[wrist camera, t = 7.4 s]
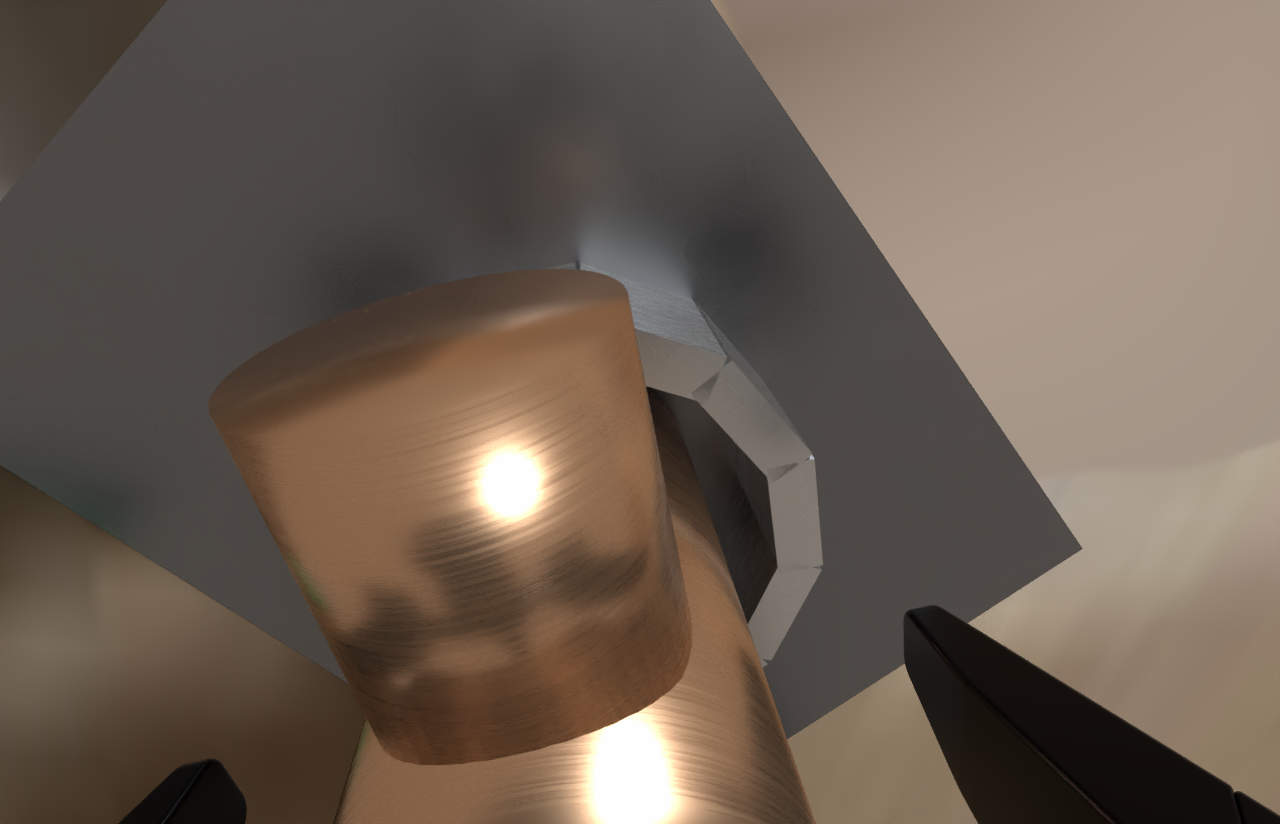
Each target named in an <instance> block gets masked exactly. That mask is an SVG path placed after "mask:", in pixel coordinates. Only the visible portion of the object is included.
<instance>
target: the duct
mask: <svg viewBox="0 0 1280 824" xmlns="http://www.w3.org/2000/svg"><path fill="white" fill-rule="evenodd" d="M532 269H577V270H586V271H592V272H598V273H601V274H605V275H608V276H610V277H612V278H614V279H616V280H618V281H619V282H620V283H622V284H623V285H624V286H625V288H626V290H627V292H628V296H629V301H630V306H631V311H632V317H633V322H634V327H635V332H636V337H637V342H638V347H639V353H640V358H641V363H642V368H643V373H644V378H645V383H646V389H648V390H649V391H651V392H652V393H653V394H654V395H655V396H656V397H657V398H658V399H659V400H660V401H661V402H662V403H663V404H664V405H665V406H666V408H667V409H668V410H669V411H670V412H671V414H672V416H673V417H674V419H675V421H676V422H677V424H678V426H679V428H680V430H681V433H682V435H683V438H684V440H685V443H686V446H687V449H688V452H689V455H690V458H691V461H692V464H693V467H694V469H695V472H696V475H697V478H698V481H699V484H700V487H701V490H702V493H703V496H704V499H705V502H706V504H707V507H708V510H709V513H710V516H711V519H712V522H713V525H714V528H715V531H716V534H717V537H718V539H719V542H720V545H721V548H722V551H723V554H724V557H725V560H726V563H727V566H728V569H729V572H730V575H731V577H732V580H733V583H734V586H735V589H736V592H737V595H738V598H739V601H740V604H741V607H742V610H743V612H744V615H745V618H746V621H747V624H748V627H749V630H750V633H751V636H752V639H753V642H754V645H755V647H756V650H757V653H758V656H759V659H760V662H761V665H762V668H763V671H764V674H765V677H766V680H767V682H768V685H769V688H770V691H771V694H772V697H773V700H774V703H775V706H776V709H777V712H778V715H779V717H780V720H781V723H782V726H783V729H784V732H785V735H786V738H787V739H788V738H790V737H791V736H793V735H795V734H796V733H798V732H799V731H801V730H802V729H804V728H805V727H807V726H808V725H810V724H812V723H813V722H815V721H816V720H818V719H819V718H821V717H822V716H824V715H826V714H827V713H829V712H830V711H832V710H833V709H835V708H836V707H838V706H839V705H841V704H843V703H844V702H846V701H847V700H849V699H850V698H852V697H853V696H855V695H857V694H858V693H860V692H861V691H863V690H864V689H866V688H867V687H869V686H870V685H872V684H874V683H875V682H877V681H878V680H880V679H881V678H883V677H884V676H886V675H888V674H889V673H891V672H892V671H894V670H895V669H897V668H898V667H900V666H901V665H903V664H905V661H904V631H903V619H904V615H905V613H906V611H908V610H910V609H915V608H920V607H925V606H929V605H936V606H939V607H941V608H943V609H945V610H946V611H948V612H950V613H951V614H953V615H955V616H956V617H958V618H959V619H961V620H963V621H964V622H966V623H968V622H970V621H971V620H973V619H974V618H976V617H977V616H979V615H981V614H982V613H984V612H985V611H987V610H988V609H990V608H991V607H993V606H994V605H996V604H998V603H999V602H1001V601H1002V600H1004V599H1005V598H1007V597H1008V596H1010V595H1012V594H1013V593H1015V592H1016V591H1018V590H1019V589H1021V588H1022V587H1024V586H1025V585H1027V584H1029V583H1030V582H1032V581H1033V580H1035V579H1036V578H1038V577H1039V576H1041V575H1043V574H1044V573H1046V572H1047V571H1049V570H1050V569H1052V568H1053V567H1055V566H1056V565H1058V564H1060V563H1061V562H1063V561H1064V560H1066V559H1067V558H1069V557H1070V556H1072V555H1074V554H1075V553H1077V552H1078V551H1080V550H1081V549H1082V547H1081V546H1080V544H1079V543H1078V541H1077V540H1076V538H1075V537H1074V535H1073V534H1072V533H1071V531H1070V530H1069V528H1068V527H1067V525H1066V524H1065V522H1064V521H1063V519H1062V518H1061V516H1060V515H1059V513H1058V512H1057V510H1056V509H1055V507H1054V506H1053V505H1052V503H1051V502H1050V500H1049V499H1048V497H1047V496H1046V494H1045V493H1044V491H1043V490H1042V488H1041V487H1040V485H1039V484H1038V482H1037V481H1036V480H1035V478H1034V477H1033V475H1032V474H1031V472H1030V471H1029V469H1028V468H1027V467H1026V465H1025V463H1024V462H1023V461H1022V459H1021V457H1020V456H1019V455H1018V453H1017V452H1016V450H1015V449H1014V447H1013V446H1012V444H1011V443H1010V441H1009V440H1008V439H1007V437H1006V435H1005V434H1004V432H1003V431H1002V430H1001V428H1000V426H999V425H998V424H997V422H996V421H995V419H994V418H993V416H992V415H991V413H990V412H989V411H988V409H987V407H986V406H985V405H984V403H983V402H982V400H981V399H980V397H979V396H978V394H977V393H976V391H975V390H974V388H973V387H972V385H971V384H970V383H969V381H968V379H967V378H966V377H965V375H964V373H963V372H962V371H961V369H960V368H959V366H958V365H957V363H956V362H955V360H954V359H953V357H952V356H951V354H950V353H949V351H948V350H947V348H946V347H945V346H944V344H943V343H942V341H941V340H940V338H939V337H938V335H937V334H936V332H935V331H934V329H933V328H932V326H931V325H930V323H929V322H928V320H927V319H926V318H925V316H924V315H923V313H922V312H921V310H920V309H919V307H918V306H917V304H916V303H915V301H914V300H913V298H912V297H911V295H910V294H909V293H908V291H907V290H906V288H905V287H904V285H903V284H902V282H901V281H900V279H899V278H898V276H897V275H896V273H895V272H894V270H893V269H892V268H891V266H890V265H889V263H888V262H887V260H886V259H885V257H884V256H883V254H882V253H881V251H880V250H879V248H878V247H877V245H876V244H875V242H874V241H873V239H872V238H871V237H870V235H869V234H868V232H867V231H866V229H865V228H864V226H863V225H862V223H861V222H860V221H859V219H858V217H857V216H856V215H855V213H854V211H853V210H852V209H851V207H850V206H849V204H848V203H847V201H846V200H845V198H844V197H843V195H842V194H841V192H840V191H839V189H838V188H837V187H836V185H835V184H834V182H833V181H832V179H831V178H830V176H829V175H828V173H827V172H826V170H825V169H824V167H823V166H822V164H821V163H820V161H819V160H818V159H817V157H816V156H815V154H814V153H813V151H812V150H811V148H810V147H809V145H808V144H807V142H806V141H805V139H804V138H803V136H802V135H801V133H800V132H799V131H798V129H797V128H796V126H795V125H794V123H793V122H792V120H791V119H790V117H789V116H788V114H787V113H786V111H785V110H784V109H783V107H782V105H781V104H780V103H779V101H778V100H777V98H776V97H775V95H774V94H773V92H772V91H771V89H770V88H769V86H768V85H767V83H766V82H765V80H764V79H763V77H762V76H761V75H760V73H759V72H758V70H757V69H756V67H755V66H754V64H753V63H752V61H751V60H750V58H749V57H748V55H747V54H746V52H745V51H744V49H743V48H742V47H741V45H740V44H739V42H738V41H737V39H736V38H735V36H734V35H733V33H732V32H731V30H730V29H729V27H728V26H727V24H726V23H725V22H724V20H723V19H722V17H721V16H720V14H719V13H718V11H717V10H716V8H715V7H714V5H713V4H712V2H711V1H710V0H168V1H167V2H166V3H165V4H164V5H163V7H162V8H161V9H160V10H159V11H158V13H157V14H156V15H155V16H154V17H153V19H152V20H151V21H150V22H149V23H148V25H147V26H146V27H145V28H144V29H143V31H142V32H141V33H140V34H139V35H138V37H137V38H136V39H135V40H134V41H133V43H132V44H131V45H130V46H129V47H128V49H127V50H126V51H125V52H124V54H123V55H122V56H121V57H120V58H119V60H118V61H117V62H116V63H115V64H114V66H113V67H112V68H111V69H110V70H109V72H108V73H107V74H106V75H105V76H104V78H103V79H102V80H101V81H100V82H99V84H98V85H97V86H96V87H95V88H94V90H93V91H92V92H91V93H90V94H89V96H88V97H87V98H86V99H85V100H84V102H83V103H82V104H81V105H80V106H79V108H78V109H77V110H76V111H75V112H74V114H73V115H72V116H71V117H70V118H69V120H68V121H67V122H66V123H65V124H64V126H63V127H62V128H61V129H60V130H59V132H58V133H57V134H56V135H55V136H54V138H53V139H52V140H51V141H50V143H49V144H48V145H47V146H46V147H45V149H44V150H43V151H42V152H41V153H40V155H39V156H38V157H37V158H36V159H35V161H34V162H33V163H32V164H31V165H30V167H29V168H28V169H27V170H26V171H25V173H24V174H23V175H22V176H21V177H20V179H19V180H18V181H17V182H16V183H15V185H14V186H13V187H12V188H11V189H10V191H9V192H8V193H7V194H6V195H5V197H4V198H3V199H2V200H1V201H0V465H1V466H3V467H4V468H6V469H7V470H9V471H11V472H12V473H14V474H15V475H17V476H19V477H20V478H22V479H23V480H25V481H27V482H28V483H30V484H31V485H33V486H34V487H36V488H38V489H39V490H41V491H42V492H44V493H46V494H47V495H49V496H50V497H52V498H54V499H55V500H57V501H58V502H60V503H62V504H63V505H65V506H66V507H68V508H69V509H71V510H73V511H74V512H76V513H77V514H79V515H81V516H82V517H84V518H85V519H87V520H89V521H90V522H92V523H93V524H95V525H97V526H98V527H100V528H101V529H103V530H104V531H106V532H108V533H109V534H111V535H112V536H114V537H116V538H117V539H119V540H120V541H122V542H124V543H125V544H127V545H128V546H130V547H131V548H133V549H135V550H136V551H138V552H139V553H141V554H143V555H144V556H146V557H147V558H149V559H151V560H152V561H154V562H155V563H157V564H159V565H160V566H162V567H163V568H165V569H166V570H168V571H170V572H171V573H173V574H174V575H176V576H178V577H179V578H181V579H182V580H184V581H186V582H187V583H189V584H190V585H192V586H194V587H195V588H197V589H198V590H200V591H201V592H203V593H205V594H206V595H208V596H209V597H211V598H213V599H214V600H216V601H217V602H219V603H221V604H222V605H224V606H225V607H227V608H228V609H230V610H232V611H233V612H235V613H236V614H238V615H240V616H241V617H243V618H244V619H246V620H248V621H249V622H251V623H252V624H254V625H256V626H257V627H259V628H260V629H262V630H263V631H265V632H267V633H268V634H270V635H271V636H273V637H275V638H276V639H278V640H279V641H281V642H283V643H284V644H286V645H287V646H289V647H291V648H292V649H294V650H295V651H297V652H298V653H300V654H302V655H303V656H305V657H306V658H308V659H310V660H311V661H313V662H314V663H316V664H318V665H319V666H321V667H322V668H324V669H325V670H327V671H329V672H330V673H332V674H333V675H335V676H337V677H338V678H340V679H341V680H343V681H345V682H346V683H348V682H347V680H346V678H345V676H344V674H343V672H342V670H341V668H340V666H339V664H338V662H337V661H336V659H335V657H334V655H333V653H332V651H331V649H330V647H329V645H328V643H327V641H326V639H325V637H324V635H323V633H322V631H321V630H320V628H319V626H318V624H317V622H316V620H315V618H314V616H313V614H312V612H311V610H310V608H309V606H308V604H307V602H306V600H305V599H304V597H303V595H302V593H301V591H300V589H299V587H298V585H297V583H296V581H295V579H294V577H293V575H292V573H291V571H290V569H289V568H288V566H287V564H286V562H285V560H284V558H283V556H282V554H281V552H280V550H279V548H278V546H277V544H276V542H275V540H274V538H273V537H272V535H271V533H270V531H269V529H268V527H267V525H266V523H265V521H264V519H263V517H262V515H261V513H260V511H259V509H258V507H257V506H256V504H255V502H254V500H253V498H252V496H251V494H250V492H249V490H248V488H247V486H246V484H245V482H244V480H243V478H242V476H241V475H240V473H239V471H238V469H237V467H236V465H235V463H234V461H233V459H232V457H231V455H230V453H229V451H228V449H227V447H226V445H225V444H224V442H223V440H222V438H221V436H220V434H219V432H218V430H217V428H216V426H215V424H214V422H213V420H212V418H211V416H210V414H209V409H208V403H209V400H210V397H211V395H212V393H213V392H214V390H215V389H216V388H217V386H218V385H219V384H220V383H221V382H222V381H223V380H224V379H225V378H226V377H227V376H228V375H229V374H230V373H231V372H232V371H234V370H235V369H236V368H237V367H239V366H240V365H241V364H243V363H244V362H246V361H247V360H249V359H250V358H252V357H253V356H255V355H256V354H258V353H259V352H261V351H263V350H265V349H266V348H268V347H270V346H271V345H273V344H275V343H277V342H279V341H281V340H283V339H285V338H287V337H289V336H291V335H293V334H295V333H297V332H299V331H301V330H303V329H306V328H308V327H310V326H312V325H315V324H317V323H319V322H322V321H324V320H326V319H329V318H331V317H334V316H337V315H339V314H342V313H344V312H347V311H350V310H353V309H355V308H358V307H361V306H364V305H367V304H370V303H373V302H376V301H379V300H382V299H386V298H389V297H392V296H395V295H399V294H403V293H406V292H410V291H413V290H417V289H421V288H425V287H429V286H433V285H437V284H442V283H446V282H451V281H455V280H460V279H465V278H471V277H476V276H482V275H488V274H495V273H502V272H511V271H520V270H532Z"/></svg>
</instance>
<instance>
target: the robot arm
mask: <svg viewBox="0 0 1280 824" xmlns="http://www.w3.org/2000/svg"><path fill="white" fill-rule="evenodd" d="M903 631H904V661H905V665H906V669H907V672H908V674H909V677H910V679H911V681H912V684H913V686H914V688H915V691H916V693H917V695H918V697H919V700H920V702H921V704H922V706H923V709H924V711H925V713H926V716H927V718H928V720H929V722H930V725H931V727H932V729H933V731H934V734H935V736H936V738H937V741H938V743H939V745H940V747H941V750H942V752H943V754H944V756H945V759H946V761H947V763H948V766H949V768H950V770H951V772H952V774H953V777H954V779H955V781H956V783H957V785H958V787H959V789H960V791H961V793H962V795H963V797H964V799H965V801H966V803H967V804H968V806H969V808H970V810H971V812H972V813H973V815H974V817H975V819H976V820H977V822H978V824H1280V815H1278V814H1276V813H1275V812H1273V811H1272V810H1270V809H1268V808H1267V807H1265V806H1263V805H1262V804H1260V803H1259V802H1257V801H1255V800H1254V799H1252V798H1250V797H1249V796H1247V795H1246V794H1244V793H1242V792H1240V791H1236V792H1234V791H1233V789H1232V787H1231V786H1230V785H1229V784H1227V783H1226V782H1224V781H1222V780H1221V779H1219V778H1218V777H1216V776H1214V775H1213V774H1211V773H1209V772H1208V771H1206V770H1205V769H1203V768H1201V767H1200V766H1198V765H1196V764H1195V763H1193V762H1192V761H1190V760H1188V759H1187V758H1185V757H1183V756H1182V755H1180V754H1179V753H1177V752H1175V751H1174V750H1172V749H1170V748H1169V747H1167V746H1166V745H1164V744H1162V743H1161V742H1159V741H1157V740H1156V739H1154V738H1153V737H1151V736H1149V735H1148V734H1146V733H1144V732H1143V731H1141V730H1140V729H1138V728H1136V727H1135V726H1133V725H1131V724H1130V723H1128V722H1127V721H1125V720H1123V719H1122V718H1120V717H1119V716H1117V715H1115V714H1114V713H1112V712H1110V711H1109V710H1107V709H1106V708H1104V707H1102V706H1101V705H1099V704H1097V703H1096V702H1094V701H1093V700H1091V699H1089V698H1088V697H1086V696H1084V695H1083V694H1081V693H1080V692H1078V691H1076V690H1075V689H1073V688H1071V687H1070V686H1068V685H1067V684H1065V683H1063V682H1062V681H1060V680H1058V679H1057V678H1055V677H1054V676H1052V675H1050V674H1049V673H1047V672H1045V671H1044V670H1042V669H1041V668H1039V667H1037V666H1036V665H1034V664H1032V663H1031V662H1029V661H1028V660H1026V659H1024V658H1023V657H1021V656H1020V655H1018V654H1016V653H1015V652H1013V651H1011V650H1010V649H1008V648H1007V647H1005V646H1003V645H1002V644H1000V643H998V642H997V641H995V640H994V639H992V638H990V637H989V636H987V635H985V634H984V633H982V632H981V631H979V630H977V629H976V628H974V627H972V626H971V625H969V624H968V623H966V622H964V621H963V620H961V619H959V618H958V617H956V616H955V615H953V614H951V613H950V612H948V611H946V610H945V609H943V608H941V607H939V606H936V605H929V606H925V607H920V608H915V609H910V610H908V611H906V613H905V615H904V619H903ZM246 811H247V808H246V801H245V798H244V796H243V794H242V792H241V791H240V789H239V788H238V786H237V785H236V784H235V782H234V781H233V779H232V778H231V776H230V775H229V773H228V772H227V770H226V769H225V767H224V766H223V764H222V763H221V762H220V761H218V760H216V759H206V760H201V761H196V762H192V763H187V764H184V765H182V766H180V767H178V768H177V769H176V770H175V771H173V772H172V773H171V774H170V775H169V776H168V777H167V778H166V779H165V780H164V781H163V782H162V783H161V784H160V785H159V786H158V787H156V788H155V789H154V790H153V791H152V792H151V793H150V794H149V795H148V796H147V797H146V798H145V799H144V800H143V801H142V802H141V803H140V804H139V805H137V806H136V807H135V808H134V809H133V810H132V811H131V812H130V813H129V814H128V815H127V816H126V817H125V818H124V819H123V820H122V821H121V822H120V823H119V824H245V821H246Z"/></svg>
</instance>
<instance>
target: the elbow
mask: <svg viewBox="0 0 1280 824" xmlns="http://www.w3.org/2000/svg"><path fill="white" fill-rule="evenodd" d="M208 409H209V414H210V416H211V418H212V420H213V422H214V424H215V426H216V428H217V430H218V432H219V434H220V436H221V438H222V440H223V442H224V444H225V445H226V447H227V449H228V451H229V453H230V455H231V457H232V459H233V461H234V463H235V465H236V467H237V469H238V471H239V473H240V475H241V476H242V478H243V480H244V482H245V484H246V486H247V488H248V490H249V492H250V494H251V496H252V498H253V500H254V502H255V504H256V506H257V507H258V509H259V511H260V513H261V515H262V517H263V519H264V521H265V523H266V525H267V527H268V529H269V531H270V533H271V535H272V537H273V538H274V540H275V542H276V544H277V546H278V548H279V550H280V552H281V554H282V556H283V558H284V560H285V562H286V564H287V566H288V568H289V569H290V571H291V573H292V575H293V577H294V579H295V581H296V583H297V585H298V587H299V589H300V591H301V593H302V595H303V597H304V599H305V600H306V602H307V604H308V606H309V608H310V610H311V612H312V614H313V616H314V618H315V620H316V622H317V624H318V626H319V628H320V630H321V631H322V633H323V635H324V637H325V639H326V641H327V643H328V645H329V647H330V649H331V651H332V653H333V655H334V657H335V659H336V661H337V662H338V664H339V666H340V668H341V670H342V672H343V674H344V676H345V678H346V680H347V682H348V684H349V686H350V688H351V690H352V692H353V693H354V695H355V697H356V699H357V701H358V703H359V705H360V707H361V709H362V711H363V713H364V715H365V717H366V718H365V721H364V725H363V728H362V731H361V734H360V738H359V741H358V744H357V748H356V751H355V754H354V757H353V761H352V764H351V767H350V771H349V774H348V777H347V780H346V784H345V787H344V790H343V794H342V797H341V800H340V803H339V807H338V810H337V813H336V817H335V820H334V823H333V824H816V822H815V820H814V817H813V814H812V811H811V808H810V805H809V802H808V799H807V796H806V793H805V790H804V787H803V785H802V782H801V779H800V776H799V773H798V770H797V767H796V764H795V761H794V758H793V755H792V752H791V750H790V747H789V744H788V741H787V738H786V735H785V732H784V729H783V726H782V723H781V720H780V717H779V715H778V712H777V709H776V706H775V703H774V700H773V697H772V694H771V691H770V688H769V685H768V682H767V680H766V677H765V674H764V671H763V668H762V665H761V662H760V659H759V656H758V653H757V650H756V647H755V645H754V642H753V639H752V636H751V633H750V630H749V627H748V624H747V621H746V618H745V615H744V612H743V610H742V607H741V604H740V601H739V598H738V595H737V592H736V589H735V586H734V583H733V580H732V577H731V575H730V572H729V569H728V566H727V563H726V560H725V557H724V554H723V551H722V548H721V545H720V542H719V539H718V537H717V534H716V531H715V528H714V525H713V522H712V519H711V516H710V513H709V510H708V507H707V504H706V502H705V499H704V496H703V493H702V490H701V487H700V484H699V481H698V478H697V475H696V472H695V469H694V467H693V464H692V461H691V458H690V455H689V452H688V449H687V446H686V443H685V440H684V438H683V435H682V433H681V430H680V428H679V426H678V424H677V422H676V421H675V419H674V417H673V416H672V414H671V412H670V411H669V410H668V409H667V408H666V406H665V405H664V404H663V403H662V402H661V401H660V400H659V399H658V398H657V397H656V396H655V395H654V394H653V393H652V392H651V391H649V390H648V389H646V383H645V378H644V373H643V368H642V363H641V358H640V353H639V347H638V342H637V337H636V332H635V327H634V322H633V317H632V311H631V306H630V301H629V296H628V292H627V290H626V288H625V286H624V285H623V284H622V283H620V282H619V281H618V280H616V279H614V278H612V277H610V276H608V275H605V274H601V273H598V272H592V271H586V270H577V269H532V270H520V271H511V272H502V273H495V274H488V275H482V276H476V277H471V278H465V279H460V280H455V281H451V282H446V283H442V284H437V285H433V286H429V287H425V288H421V289H417V290H413V291H410V292H406V293H403V294H399V295H395V296H392V297H389V298H386V299H382V300H379V301H376V302H373V303H370V304H367V305H364V306H361V307H358V308H355V309H353V310H350V311H347V312H344V313H342V314H339V315H337V316H334V317H331V318H329V319H326V320H324V321H322V322H319V323H317V324H315V325H312V326H310V327H308V328H306V329H303V330H301V331H299V332H297V333H295V334H293V335H291V336H289V337H287V338H285V339H283V340H281V341H279V342H277V343H275V344H273V345H271V346H270V347H268V348H266V349H265V350H263V351H261V352H259V353H258V354H256V355H255V356H253V357H252V358H250V359H249V360H247V361H246V362H244V363H243V364H241V365H240V366H239V367H237V368H236V369H235V370H234V371H232V372H231V373H230V374H229V375H228V376H227V377H226V378H225V379H224V380H223V381H222V382H221V383H220V384H219V385H218V386H217V388H216V389H215V390H214V392H213V393H212V395H211V397H210V400H209V403H208Z"/></svg>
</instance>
